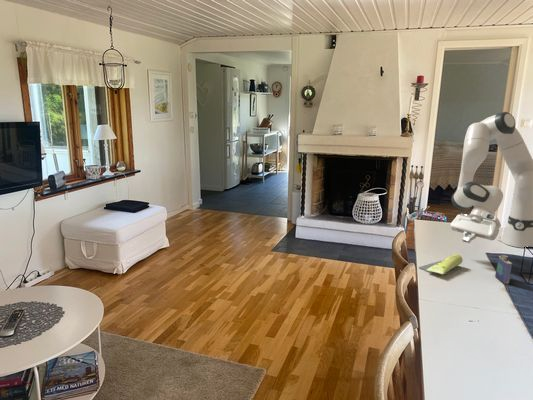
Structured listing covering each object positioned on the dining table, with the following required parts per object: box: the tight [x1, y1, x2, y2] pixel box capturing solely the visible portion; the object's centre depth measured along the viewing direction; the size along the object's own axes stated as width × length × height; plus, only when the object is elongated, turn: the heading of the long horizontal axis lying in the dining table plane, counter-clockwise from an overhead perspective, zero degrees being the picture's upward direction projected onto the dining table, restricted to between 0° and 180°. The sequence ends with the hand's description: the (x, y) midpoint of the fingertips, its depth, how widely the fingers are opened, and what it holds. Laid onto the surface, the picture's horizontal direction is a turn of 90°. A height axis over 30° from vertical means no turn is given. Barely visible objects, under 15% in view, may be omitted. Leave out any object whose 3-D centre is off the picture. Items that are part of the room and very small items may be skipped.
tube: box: [427, 253, 463, 275], centre depth 173 cm, size 6×5×20 cm
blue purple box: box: [494, 254, 513, 285], centre depth 164 cm, size 9×3×11 cm, turn 172°
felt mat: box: [418, 260, 463, 277], centre depth 176 cm, size 16×10×1 cm, turn 122°
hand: (465, 241), depth 180 cm, fingers closed
